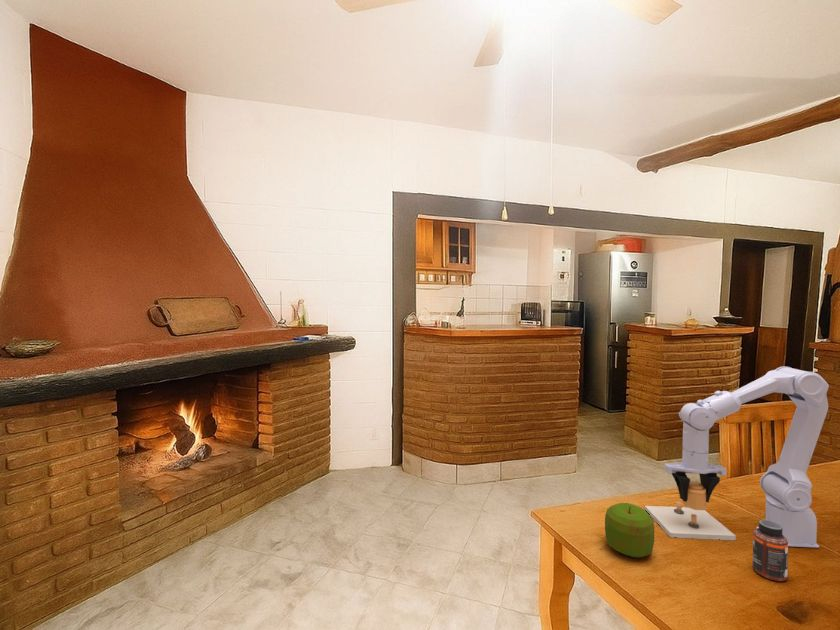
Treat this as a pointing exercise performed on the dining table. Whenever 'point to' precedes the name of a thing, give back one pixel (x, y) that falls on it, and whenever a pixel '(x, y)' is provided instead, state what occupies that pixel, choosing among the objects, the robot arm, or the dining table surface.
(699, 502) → the acorn nut
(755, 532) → the supplement bottle
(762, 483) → the robot arm
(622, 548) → the apple
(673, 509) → the junction plate
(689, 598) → the dining table surface
